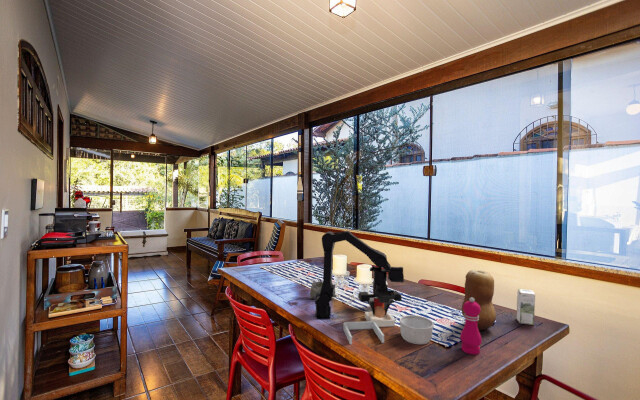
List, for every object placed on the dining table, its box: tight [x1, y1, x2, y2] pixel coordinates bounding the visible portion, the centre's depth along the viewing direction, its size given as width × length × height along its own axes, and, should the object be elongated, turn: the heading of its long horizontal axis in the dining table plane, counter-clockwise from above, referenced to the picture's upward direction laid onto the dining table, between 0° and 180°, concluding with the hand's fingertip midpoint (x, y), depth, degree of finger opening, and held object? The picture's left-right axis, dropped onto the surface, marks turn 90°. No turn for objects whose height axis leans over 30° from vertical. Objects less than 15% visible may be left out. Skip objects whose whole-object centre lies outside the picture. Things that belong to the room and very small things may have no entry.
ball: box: [375, 306, 385, 318], centre depth 144 cm, size 5×5×5 cm
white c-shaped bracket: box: [342, 320, 385, 345], centre depth 130 cm, size 14×14×3 cm
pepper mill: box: [459, 297, 483, 355], centre depth 118 cm, size 7×7×20 cm
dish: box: [364, 311, 396, 328], centre depth 144 cm, size 11×11×3 cm
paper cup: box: [372, 279, 388, 309], centre depth 160 cm, size 8×8×14 cm
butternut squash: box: [461, 269, 497, 331], centre depth 138 cm, size 14×13×25 cm
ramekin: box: [398, 314, 435, 345], centre depth 128 cm, size 13×13×7 cm
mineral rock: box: [309, 280, 337, 300], centre depth 172 cm, size 13×11×10 cm
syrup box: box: [516, 288, 536, 326], centre depth 145 cm, size 6×6×14 cm
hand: (379, 315), depth 144 cm, fingers closed on ball, 5 cm apart
